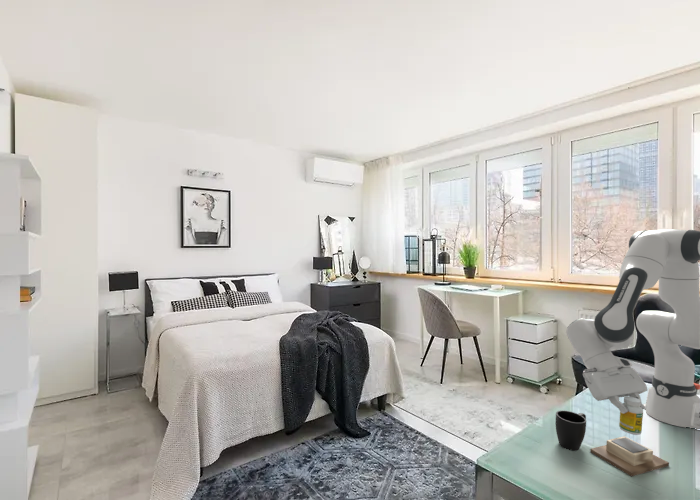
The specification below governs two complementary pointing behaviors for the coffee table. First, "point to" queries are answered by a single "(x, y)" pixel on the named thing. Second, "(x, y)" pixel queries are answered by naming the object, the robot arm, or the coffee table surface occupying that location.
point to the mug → (570, 429)
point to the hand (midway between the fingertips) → (633, 411)
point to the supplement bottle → (632, 416)
